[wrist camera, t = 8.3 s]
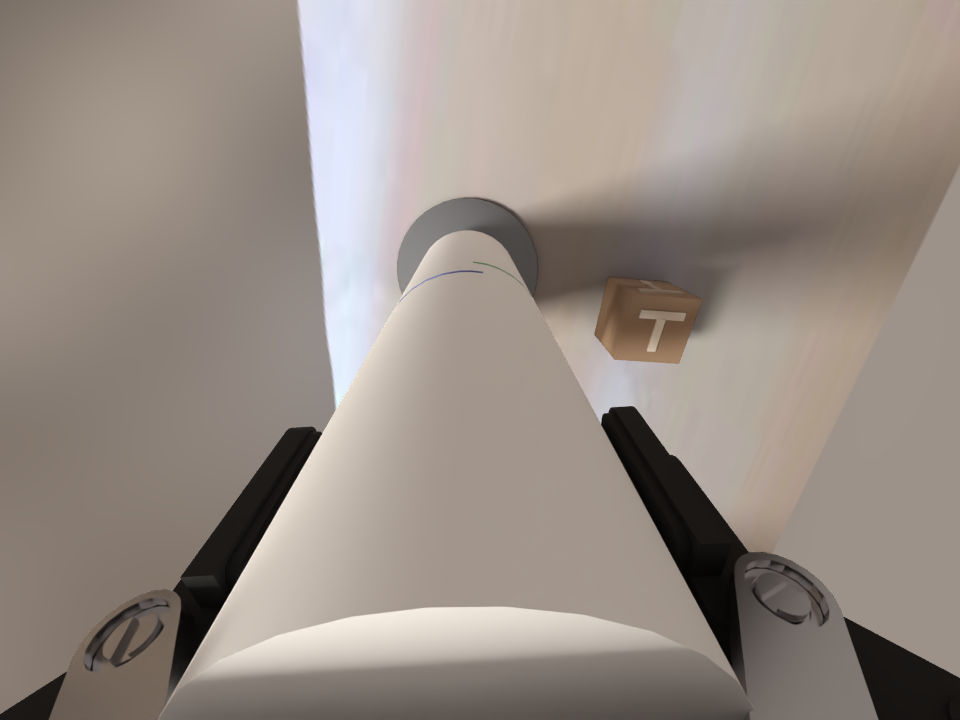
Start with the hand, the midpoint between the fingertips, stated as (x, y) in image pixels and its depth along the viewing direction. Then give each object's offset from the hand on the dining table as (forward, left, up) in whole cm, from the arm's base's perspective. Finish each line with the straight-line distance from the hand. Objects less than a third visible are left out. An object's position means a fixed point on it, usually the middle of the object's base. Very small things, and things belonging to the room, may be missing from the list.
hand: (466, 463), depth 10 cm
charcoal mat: (0, 0, -21) cm, 21 cm away
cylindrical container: (0, 0, -19) cm, 19 cm away
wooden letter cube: (+5, -13, -22) cm, 26 cm away
